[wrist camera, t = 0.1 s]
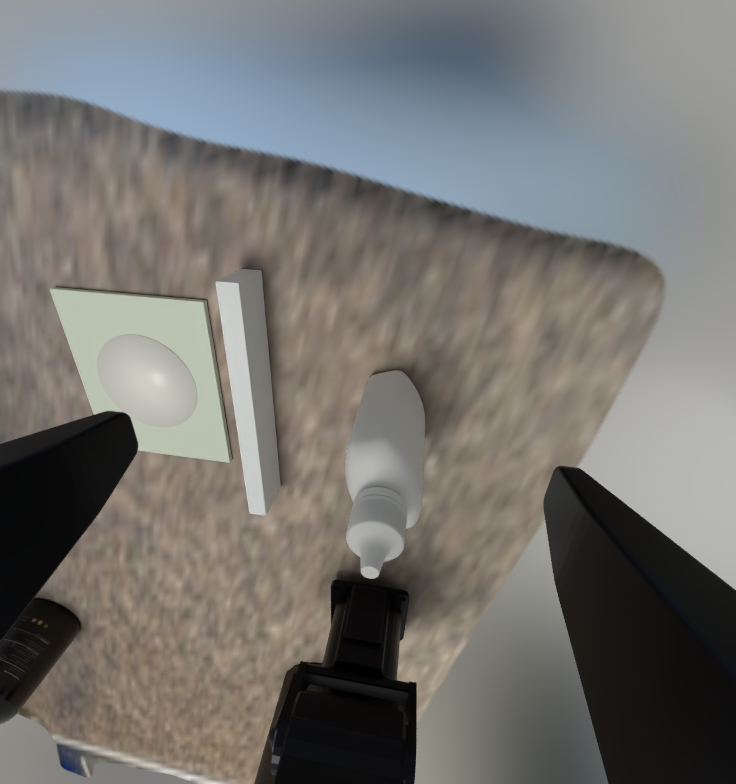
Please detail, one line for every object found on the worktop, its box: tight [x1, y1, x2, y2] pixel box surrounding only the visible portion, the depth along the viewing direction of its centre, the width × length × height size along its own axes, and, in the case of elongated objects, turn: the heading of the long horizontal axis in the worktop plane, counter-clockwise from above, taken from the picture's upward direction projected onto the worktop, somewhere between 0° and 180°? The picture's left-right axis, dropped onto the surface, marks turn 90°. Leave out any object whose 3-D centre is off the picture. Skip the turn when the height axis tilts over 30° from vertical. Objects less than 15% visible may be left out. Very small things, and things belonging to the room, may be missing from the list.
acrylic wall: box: [215, 269, 281, 516], centre depth 25 cm, size 16×1×3 cm, turn 178°
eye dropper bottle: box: [345, 370, 425, 579], centre depth 20 cm, size 4×6×12 cm
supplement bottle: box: [0, 600, 79, 724], centre depth 40 cm, size 7×7×12 cm
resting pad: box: [50, 287, 232, 463], centre depth 27 cm, size 12×10×1 cm
